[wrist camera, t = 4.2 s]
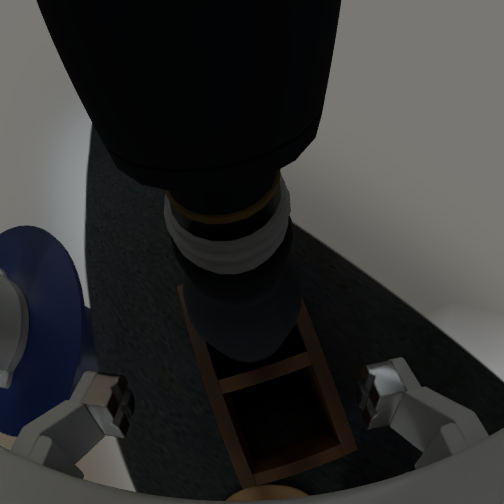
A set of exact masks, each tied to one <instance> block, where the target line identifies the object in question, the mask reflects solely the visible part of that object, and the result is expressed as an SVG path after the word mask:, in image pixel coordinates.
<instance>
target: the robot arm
mask: <svg viewBox="0 0 504 504" xmlns="http://www.w3.org/2000/svg"><path fill="white" fill-rule="evenodd" d="M28 332H29V313H28V307H27V302H26V299H25V296H24V294H23V292H22V290H21V289H20V288H19V286H18V285H16V284H15V283H14V282H12V281H10V280H9V279H8V277H7V275H6V273H5V271H4V270H3V269H1V268H0V387H2V388H6V389H8V388H9V387H10V385H11V382H12V378H13V373H14V370H15V368H16V366H17V365H18V363H19V362H20V360H21V358H22V356H23V353H24V351H25V348H26V344H27V339H28ZM360 376H361V379H360V380H359V381H358V382H357V386H356V398H357V402H358V405H359V407H361V408H362V409H364V412H363V415H362V416H363V419H364V421H365V424H366V427H367V430H369V429H374V428H379V427H383V426H388V425H390V427H391V428H392V429H394V430H395V431H396V432H397V433H399V434H400V435H401V436H403V437H404V438H405V439H406V440H408V441H409V442H410V443H411V444H413V445H414V446H415V447H417V448H418V449H419V450H420V451H422V452H423V454H422V455H421V457H420V458H419V459H418V461H417V462H416V464H415V465H414V466H415V469H416V470H414V471H411V472H408V473H405V474H402V475H399V476H396V477H393V478H389V479H386V480H383V481H379V482H375V483H372V484H368V485H364V486H360V487H355V488H351V489H346V490H341V491H336V492H331V493H325V494H319V495H313V496H305V497H297V498H288V499H277V500H262V501H207V500H192V499H180V498H171V497H163V496H156V495H150V494H144V493H138V492H133V491H128V490H123V489H118V488H114V487H109V486H105V485H102V484H98V483H94V482H90V481H87V480H84V479H83V477H84V475H83V473H82V471H81V470H79V468H78V467H77V466H76V465H75V464H76V463H77V462H78V461H79V460H80V459H81V458H82V457H83V456H84V455H86V454H87V453H88V452H89V451H90V450H91V449H92V448H93V447H94V446H95V445H96V444H97V443H98V442H99V441H100V440H102V439H103V438H104V437H105V435H108V436H114V437H121V438H125V437H126V434H127V431H128V428H129V425H130V424H129V422H128V420H127V419H128V418H129V417H131V416H132V415H133V412H134V408H135V400H134V396H133V393H132V391H131V390H130V389H128V388H127V387H126V386H127V383H128V382H127V380H126V378H125V376H123V375H116V374H108V373H101V372H92V371H86V372H85V373H84V374H83V376H82V378H81V380H80V381H79V383H78V385H77V387H76V389H75V390H74V392H73V394H72V396H71V398H70V400H69V401H68V400H65V401H64V402H62V403H61V404H59V405H57V406H56V407H54V408H53V409H51V410H50V411H48V412H46V413H45V414H43V415H42V416H40V417H38V418H37V419H35V420H34V421H32V422H30V423H29V424H27V425H25V426H24V427H23V428H22V430H21V432H20V433H19V435H18V437H17V439H16V441H15V443H14V445H13V447H12V449H11V451H10V450H7V449H5V448H4V447H1V446H0V504H504V428H503V429H501V430H499V431H498V432H496V433H494V434H492V435H491V436H489V435H488V434H487V432H486V430H485V429H484V427H483V425H482V424H481V422H480V420H479V419H478V417H477V416H476V414H475V412H473V411H471V410H469V409H467V408H466V407H464V406H462V405H460V404H458V403H456V402H454V401H452V400H450V399H448V398H446V397H444V396H442V395H440V394H438V393H436V392H435V391H433V390H431V389H429V388H427V387H421V386H420V384H419V382H418V381H417V379H416V377H415V376H414V374H413V372H412V371H411V369H410V368H409V366H408V364H407V363H406V361H405V360H404V358H402V357H400V358H395V359H391V360H386V361H381V362H376V363H370V364H365V365H362V367H361V369H360Z"/></svg>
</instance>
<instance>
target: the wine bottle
mask: <svg viewBox="0 0 504 504" xmlns="http://www.w3.org/2000/svg"><path fill="white" fill-rule="evenodd" d="M37 3H38V6H39V8H40V11H41V13H42V16H43V18H44V21H45V23H46V26H47V28H48V31H49V33H50V35H51V38H52V40H53V42H54V45H55V47H56V49H57V51H58V53H59V55H60V58H61V60H62V62H63V64H64V67H65V69H66V71H67V73H68V75H69V77H70V79H71V81H72V83H73V85H74V88H75V90H76V92H77V93H78V95H79V98H80V99H81V101H82V104H83V105H84V107H85V109H86V111H87V113H88V115H89V117H90V119H91V121H92V123H93V125H94V127H95V128H96V130H97V132H98V134H99V136H100V138H101V139H102V141H103V143H104V145H105V147H106V148H107V150H108V152H109V154H110V156H111V157H112V159H113V161H114V163H115V164H116V166H117V168H118V169H119V170H121V171H122V172H124V173H125V174H127V175H128V176H130V177H131V178H133V179H134V180H136V181H137V182H139V183H140V184H142V185H147V186H151V187H155V188H160V189H164V191H165V194H166V195H165V200H164V201H165V208H164V216H165V221H166V226H167V230H168V231H169V233H170V234H171V241H172V246H173V251H174V255H175V257H176V259H177V260H178V262H179V263H180V265H181V267H182V268H183V270H184V271H185V272H184V282H183V296H184V301H185V305H186V309H187V313H188V316H189V320H190V322H191V324H192V325H193V327H194V328H195V330H196V331H197V333H198V334H199V336H200V337H201V338H202V339H203V340H205V341H206V342H207V343H209V344H210V345H211V346H213V347H214V348H215V349H217V350H218V351H220V352H222V353H223V354H225V355H226V356H228V357H230V358H231V359H233V360H234V361H237V362H240V363H243V364H258V363H261V362H264V361H266V360H267V359H269V358H270V357H271V356H273V355H274V353H275V352H276V351H277V349H278V348H279V347H280V345H281V344H282V343H283V341H284V340H285V338H286V337H287V336H288V334H289V333H290V331H291V330H292V328H293V327H294V326H295V324H296V323H297V320H298V316H299V313H300V309H301V306H302V299H301V282H300V277H299V273H298V270H297V268H296V265H295V263H294V260H293V258H292V256H291V255H290V253H289V252H290V248H291V244H292V239H293V233H292V220H291V218H290V216H289V214H290V211H291V209H290V195H289V191H288V189H287V187H286V185H285V182H284V180H283V178H282V176H281V173H280V169H281V168H282V167H284V166H286V165H288V164H290V163H291V162H293V161H295V160H296V159H297V158H298V157H299V155H300V154H301V153H302V152H303V151H304V150H305V149H306V148H307V147H308V145H309V144H310V143H311V142H312V141H313V140H314V139H315V137H316V134H317V130H318V126H319V123H320V119H321V115H322V110H323V105H324V100H325V94H326V89H327V83H328V78H329V73H330V67H331V62H332V56H333V50H334V44H335V38H336V32H337V25H338V19H339V12H340V6H341V0H37Z"/></svg>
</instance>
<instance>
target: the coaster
mask: <svg viewBox="0 0 504 504" xmlns="http://www.w3.org/2000/svg"><path fill="white" fill-rule="evenodd" d="M305 496H309V495H308V494H307V493H305V492H303V491H301V490H299V489H297V488H294V487H291V486H287V485H281V484H262V485H257V486H254V487H250V488H246V489H243V490H240V491H238V492H236V493H235V494H233V495H232V496H230V497H229V498H228V499H227V500H226V501H262V500H277V499H288V498H297V497H305Z"/></svg>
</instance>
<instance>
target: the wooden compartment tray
mask: <svg viewBox="0 0 504 504" xmlns="http://www.w3.org/2000/svg"><path fill="white" fill-rule="evenodd" d="M177 290H178V294H179V298H180V302H181V306H182V310H183V314H184V318H185V321H186V325H187V329H188V332H189V336H190V339H191V343H192V346H193V350H194V353H195V356H196V360H197V363H198V366H199V370H200V373H201V376H202V379H203V382H204V386H205V389H206V392H207V395H208V398H209V401H210V404H211V407H212V410H213V413H214V415H215V418H216V421H217V424H218V427H219V429H220V432H221V435H222V438H223V440H224V443H225V446H226V448H227V451H228V454H229V456H230V459H231V461H232V464H233V466H234V469H235V471H236V474H237V476H238V479H239V481H240V483H241V486H242V488H243V489H246V488H250V487H254V486H257V485H261V484H265V483H269V482H272V481H276V480H279V479H282V478H285V477H289V476H292V475H295V474H298V473H301V472H303V471H306V470H309V469H312V468H314V467H317V466H320V465H322V464H325V463H327V462H330V461H332V460H335V459H337V458H339V457H342V456H344V455H347V454H349V453H351V452H353V451H356V450H357V446H356V443H355V440H354V437H353V434H352V431H351V428H350V425H349V423H348V420H347V417H346V414H345V411H344V408H343V406H342V403H341V400H340V397H339V394H338V391H337V389H336V386H335V383H334V380H333V378H332V375H331V372H330V369H329V367H328V364H327V361H326V359H325V356H324V353H323V351H322V348H321V345H320V343H319V340H318V337H317V335H316V332H315V329H314V327H313V324H312V321H311V319H310V316H309V314H308V311H307V308H306V306H305V303H304V301H303V298H302V296H301V299H302V306H301V309H300V313H299V316H298V320H297V323H296V324H295V326H294V327H293V328H292V330H291V331H290V336H291V338H292V341H293V344H294V347H295V349H296V352H297V355H295V356H292V357H289V358H287V359H284V360H281V361H278V362H275V363H272V364H269V365H266V366H263V367H260V368H257V369H254V370H251V371H248V372H244V373H241V374H238V375H235V376H231V377H228V378H225V375H224V372H223V369H222V366H221V363H220V360H219V356H218V353H217V350H216V349H215V348H214V347H213V346H211V345H210V344H209V343H207V342H206V341H205V340H203V339H202V338H201V337H200V336H199V334H198V333H197V331H196V330H195V328H194V327H193V325H192V324H191V322H190V320H189V316H188V313H187V309H186V305H185V301H184V296H183V285H179V286H177ZM299 369H303V371H304V374H305V377H306V380H307V382H308V385H309V388H310V391H311V394H312V396H313V399H314V402H315V405H316V407H317V410H318V413H319V416H320V419H321V421H322V424H323V427H324V430H325V432H324V433H322V434H319V435H317V436H314V437H312V438H309V439H306V440H304V441H301V442H298V443H295V444H292V445H289V446H286V447H283V448H280V449H277V450H274V451H271V452H267V453H264V454H261V455H257V456H253V454H252V451H251V448H250V446H249V443H248V441H247V438H246V435H245V432H244V430H243V427H242V424H241V421H240V419H239V416H238V413H237V410H236V407H235V405H234V402H233V399H232V396H231V393H230V392H232V391H235V390H239V389H242V388H245V387H249V386H252V385H255V384H258V383H261V382H264V381H267V380H270V379H273V378H276V377H279V376H282V375H285V374H288V373H291V372H293V371H296V370H299Z"/></svg>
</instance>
